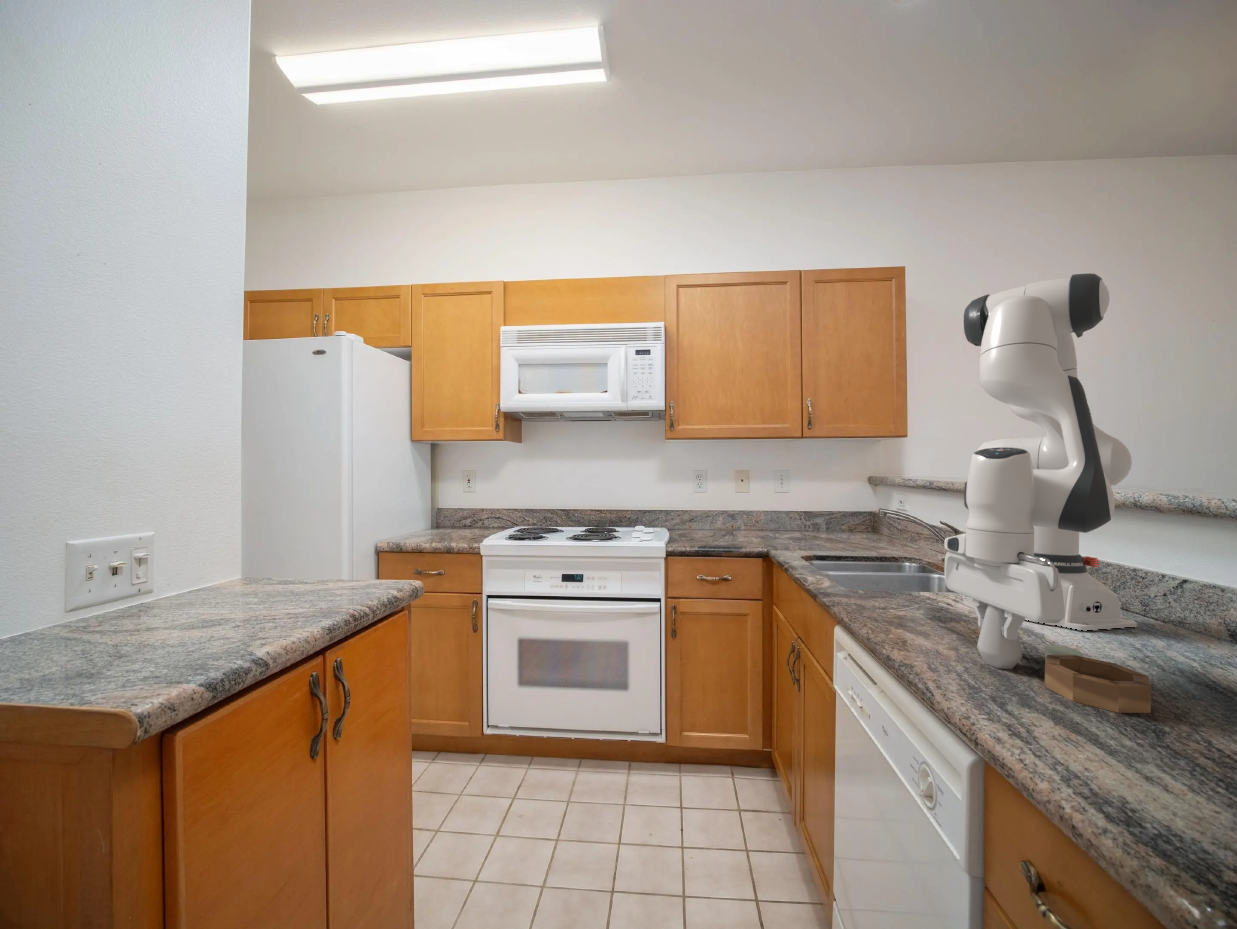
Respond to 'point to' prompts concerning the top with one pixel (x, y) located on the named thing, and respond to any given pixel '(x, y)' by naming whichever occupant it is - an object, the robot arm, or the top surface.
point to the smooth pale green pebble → (1061, 651)
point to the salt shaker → (997, 641)
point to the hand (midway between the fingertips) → (997, 633)
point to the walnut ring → (1098, 683)
